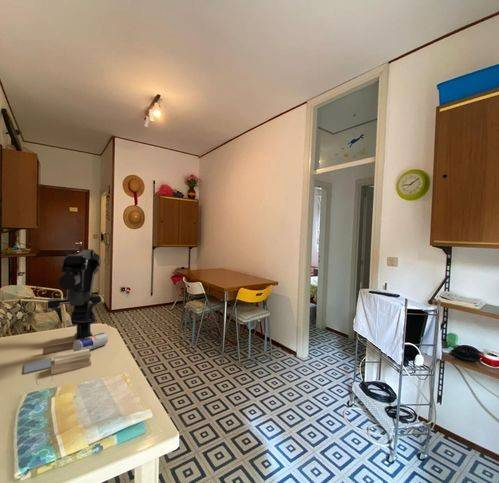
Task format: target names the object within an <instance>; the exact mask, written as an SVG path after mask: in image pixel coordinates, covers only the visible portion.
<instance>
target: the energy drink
mask: <svg viewBox="0 0 499 483" xmlns="http://www.w3.org/2000/svg"><path fill="white" fill-rule="evenodd" d="M80 339H81V340H80ZM80 339H76V340H77V341H75V340H74V341H75V342H74V344H73V349H72V350H73V352H75V351H80V350H85V349H89V350H90V351H91V350H94V349H97V348H99V347H102V346H105V345H106V344H108V342H109V338H108V335H107V333H106V332H100V333H97V334H93V335H92V336H89V337H84V338H80Z"/></svg>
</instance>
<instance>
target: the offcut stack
mask: <svg viewBox="0 0 499 483" xmlns="http://www.w3.org/2000/svg"><path fill="white" fill-rule="evenodd" d="M91 358H92V353H91V350H89V349H85V350H80V351H75V352H74V351H71V352H68V353H67V352H66V353H61V354H57V355H54V356H53V360H52V361H51V368H50V374H51V375H52V376H53V375H55V374H60V373H64V372H69V371H72V370H76V369H81V368H85V367H88V366H92V361H91Z"/></svg>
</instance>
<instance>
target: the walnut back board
mask: <svg viewBox="0 0 499 483" xmlns="http://www.w3.org/2000/svg"><path fill="white" fill-rule="evenodd" d="M81 339H82V338H79V340H81ZM77 340H78V339H75V340H70V341H65V342H59V343H54V344H48V345H43V346H42V355H48V354H52V353H57V352H63V351H69V350H73V344H74V342H75V341H77Z"/></svg>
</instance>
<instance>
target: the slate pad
mask: <svg viewBox="0 0 499 483" xmlns="http://www.w3.org/2000/svg"><path fill="white" fill-rule="evenodd" d="M51 361H53V360H52V357H50V358H45V359H40V360H36V361H30V362H26V363H24V368H23V375H26V374H27V375H28V374H31V373H34V372H35V373H36V372H41V371H44V370H48V369H51Z"/></svg>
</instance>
